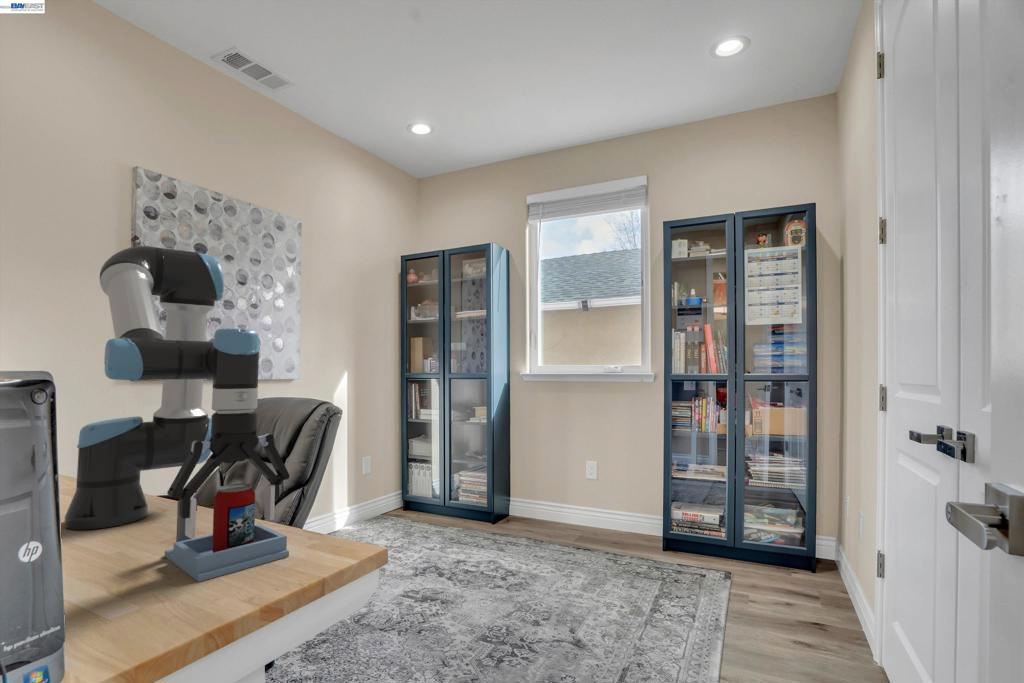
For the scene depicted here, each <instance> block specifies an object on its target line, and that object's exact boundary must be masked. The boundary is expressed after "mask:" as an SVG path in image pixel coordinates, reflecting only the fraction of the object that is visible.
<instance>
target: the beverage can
mask: <svg viewBox="0 0 1024 683" xmlns="http://www.w3.org/2000/svg"><path fill="white" fill-rule="evenodd" d="M255 515H256V492H255V491H254V489H253V487H252V485H251V484H250V483H231V484H227V485H223V486H220V487H218V490H217V493H215V495H214V497H213V514H212V516H213V518H212V519H213V520H212V534H213V553H214V552H218V551H222V550H226V549H230V548H234V547H238V546H242V545H246V544H250V543H254V525H256V524H255V523H256V522H255V519H256V518H255V517H256V516H255Z"/></svg>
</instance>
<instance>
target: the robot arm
mask: <svg viewBox="0 0 1024 683" xmlns="http://www.w3.org/2000/svg"><path fill="white" fill-rule="evenodd" d="M224 280H225V278H224V273H223V268H222V266H221V263H220V261H219V260H218V258H216V257H215V256H214V255H212V254H211V255H210V254H206V253H200V252H199V251H198V252H196V251H189V250H188V251H187V250H178V249H173V248H162V247H155V246H149V245H137V246H132V247H128V248H124V249H122V250H120V251H118V252H116V253H114V254H113V255H111V257H110V256H109V257H108V259H107V260H106V261H105V262H104V264H103V265H102V267H101V269H100V272H99V284H100V287H101V288H100V289H102V291H103V292H104V294H105V295H106V296H107V297H108V303H109V308H110V314H111V320H112V326H113V332H114V337H115V338H111V339H108V340H107V342H106V344H105V348H104V374H105V376H106V377H107V378H108V379H110V380H116V381H117V380H118V381H129V382H134V381H135V382H137V381H159V380H162V391H161V406H160V407H159V408H158V409H157V410H155V412H154V413H153V415H152V421H145V422H144V419H143V417H142V416H127V417H125V416H124V417H119V418H112V419H106V420H105V419H104V420H101V421H96V422H92V423H88V424H86V425H84V426H83V427H81V428H80V431H79V435H78V444H77V445H76V448H77V449H78V453H77V455H78V457H77V467H76V468H77V469H76V470H77V471H76V485H75V486H76V488H75V493H74V494H73V496H72V499H71V501H70V504H69V506H68V508H67V511H66V513H65V515H64V523H63V525H64V526H63V527H64V528H65V526H66V528H65V529H67V528H69V529H68V530H78V531H81V530H84V531H85V530H94V529H95V530H96V529H104V528H105V529H106V528H110V527H111V528H112V527H117V526H122V525H125V524H130V523H133V522H137V521H140V520H142V519H144V518H145V517H147V516H148V514H149V512H148V511H149V506H148V504H149V503H148V501H147V499H146V496H145V493H144V491H143V488H142V485H141V472H142V471H143V472H144V471H151V470H159V469H166V468H176V467H180V469H179V471H178V472H177V474H176V476H175V478H174V480H173V482H172V483H171V485H170V487H169V488H168V490H167V492H166V494H167V496H169V497H171V498H174V499H179V501H180V513H179V515H180V517H181V518H183V519H185V518H186V519H185V535H186V536H187V537H189V538H191V539H193V538H196V528H197V527H196V522H197V511H196V504H197V498H194V497H193V496H194V495H195V494H196V493H197V491H198V490H199V489H200V487H202V485H203V484H204V483H205V482H206V481H207V479H209V477H210V476H211V475H212V474H213V473H214V471H215V470H216V469H217V468H218V467H219V466H221V464H222V463H224V464H230V463H235V462H245V460H247V461H249V462H250V463H251V464H252V465H253V466H254V468H256V470H257V471H258V472H259V473H260V474H261V475H262V476H263V477H264V478H266V480H267V481H268V482H269V483H265V484H264V504H263V505H264V506H263V508H264V510H263V511H264V513H263V518H264V519H266V520H268V521H274V520H275V503H276V502H277V501H278V500H280V499H279V498H280V485H282V484H283V481H287V480H289V479H290V476H291V475H290V473H289V471H288V470H287V467H286V466H285V463H284V461H283V459H282V457H281V455H280V453H279V452H278V449H277V448H276V445H275V437H274V435H273V434H272V433H271V434H270V433H263V434H262V435H260V436H258V434H257V430H258V413H257V411H254V410H256V409H257V408H258V402H259V401H258V398H259V395H258V394H259V392H258V391H259V389H258V388H259V385H258V384H259V364H260V361H259V360H260V358H259V357H260V349H261V347H260V338H259V333H258V332H257V331H256V330H254V329H249V328H218V329H217V330H216V331H214V335H213V336H214V337H213V341H206V339H207V323H208V322H207V319H208V313H209V312H210V311H212V310H213V309H214V308H215V302H218V301H221V300H222V299H223V296H224V290H225V282H224ZM154 296H157V297H159V304H160V305H161V307H163V309H164V310H166V320H165V322H166V323H165V334H164V332H163V330H162V326H161V322H160V319H159V315H158V311H157V308H156V304H155V301H154ZM164 335H165V336H164ZM204 380H212V393H211V394H212V395H211V396H212V397H211V410H212V411H214V413H212V414H211V417H209V412H208V411H207V410H206V409H205V408H204V407H203V391H204V390H203V389H204V387H203V386H204ZM258 444H260V446H261V447H263V449H264V452H265V453H266V456H267V457H268V460H269V461H270V463H271V465H272V467H273V469H274V471H275V472H274V471H273V470H272V469H271V468H270V466H268V464H266V462H264V460H263V459H262V458H261V457H260V455H259V454H258V453H257V452H256V451H255V449H256V447H257V446H258ZM204 462H205V463H204ZM203 463H204V464H203ZM198 464H199V465H200V464H203V465H202V467H200V469H199V470H198V471H197V472H196V473H195V474H194V476H192V478H191V479H190V477H191V475H192V473H193V472H194V470H195V468H196V466H197V465H198ZM189 479H190V480H189ZM188 480H189V482H188Z"/></svg>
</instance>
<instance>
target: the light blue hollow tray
mask: <svg viewBox="0 0 1024 683" xmlns="http://www.w3.org/2000/svg"><path fill="white" fill-rule="evenodd" d="M176 507H177V508H176V509H177V512H176V515H177V516H176V535H175V536H176V537H175V538H176V540H175V542H173V548H170V549H166V550H164V557H165V558H166V559H168V560H169V561H170V562H171V563H173V564H174V565H175V566H177V567H179V568H180V569H181V570H182V571H183V572H185V573H186V574H188V576H190V577H192V578H193V579H194V580H196V581H197V582H198V583H200V582H204V581H206V580H207V581H208V580H210V579H214V578H218V577H221V576H222V577H223V576H224V575H227V574H232V573H234V572H239V571H243V570H246V569H250V568H252V567H253V568H254V567H257V566H260V565H264V564H266V563H271V562H274V561H277V560H281V559H284V558H289V557H290V550H288V549H287V545H288V542H287V539H288V536H287V535H285V534H283V533H281V532H278V531H276V530H274V529H272V528H269V527H268V526H266V525H264V524H261V523H256V524H254V543H250V544H246V545H242V546H238V547H234V548H230V549H226V550H222V551H218V552H214V553H213V533H212V534H207V535H203V536H199V537H198V536H197V537H194V538H189V537H187V536H186V535H185V519H186V518H185V519H183V518H181V517H180V515H179V513H180V500H178V501H177V506H176ZM197 511H198V503H196V512H197Z"/></svg>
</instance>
